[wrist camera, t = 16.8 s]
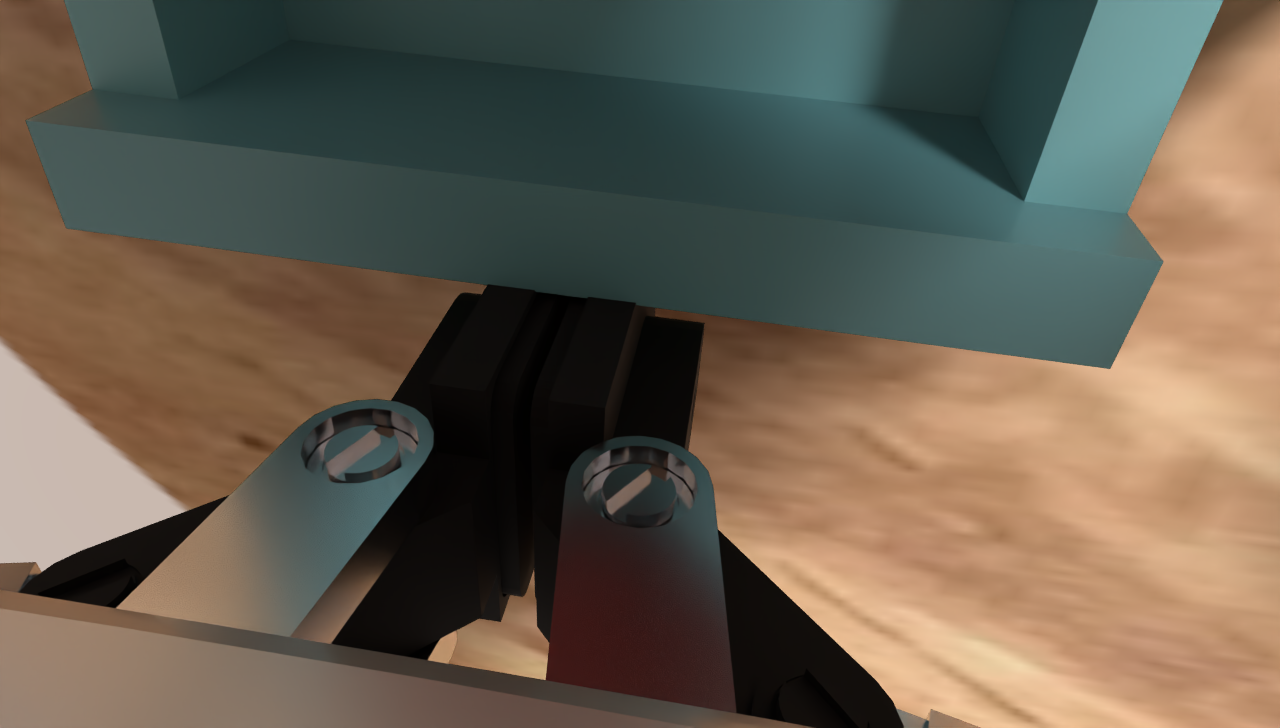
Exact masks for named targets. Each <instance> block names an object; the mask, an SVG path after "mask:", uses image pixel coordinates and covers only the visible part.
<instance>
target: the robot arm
mask: <svg viewBox="0 0 1280 728" xmlns="http://www.w3.org/2000/svg"><path fill="white" fill-rule="evenodd" d="M704 324H705V323H700V322H693V321H685V320H677V319H669V318H661V317H655V308H654V307H647V306H639V305H636V303H634V302H626V301H618V300H610V299H602V298H594V297H588V298H580V297H572V296H565V295H557V294H550V293H542V292H535V290H530V289H522V288H514V287H506V286H498V285H490V284H488V285H487V287H486V288H485V290H484V292H483V294H482V295H481V294H473V293H461V294H460V295H459V296H458V297H457V298H456V299H455V301H454V302H453V304H452V305H451V307H450V309H449V310H448V312H447V313H446V315H445V317H444V318H443V320H442V321H441V323H440V324H439V326H438V328H437V329H436V331H435V332H434V334H433V335H432V337H431V339H430V340H429V342H428V343H427V345H426V346H425V348H424V350H423V351H422V353H421V354H420V356H419V357H418V359H417V361H416V362H415V364H414V365H413V367H412V369H411V370H410V372H409V373H408V375H407V376H406V378H405V380H404V381H403V383H402V384H401V386H400V387H399V389H398V391H397V392H396V394H395V395H394V397H393V398H392V400H391V401H388V400H380V399H372V400H356V401H352V402H348V403H344V404H340V405H336V406H333V407H331V408H329V409H326V410H324V411H322V412H320V413H318V414H316V415H314V416H312V417H311V418H310V419H309V420H307V421H306V422H305V423H303V424H302V425H301V426H299V427H298V428H297V429H296V430H295V431H294V432H293V433H292V434H291V435H290V436H289V437H288V438H287V439H286V440H285V441H284V442H283V443H282V444H281V445H280V446H279V447H278V448H277V449H276V450H275V451H274V452H273V453H272V454H271V455H270V456H269V457H268V458H267V459H266V460H265V461H264V462H263V463H262V464H261V465H260V466H259V467H258V468H257V469H256V470H255V471H254V472H253V473H252V474H251V475H250V476H249V477H248V478H247V479H246V480H245V481H244V482H243V483H242V484H241V485H240V486H239V487H238V488H237V489H236V490H235V491H234V492H233V493H232V494H231V495H229V496H226V497H223V498H221V499H218V500H215V501H213V502H210V503H207V504H205V505H202V506H199V507H197V508H194V509H191V510H189V511H186V512H183V513H181V514H178V515H175V516H173V517H170V518H167V519H165V520H162V521H159V522H157V523H154V524H151V525H149V526H146V527H143V528H141V529H138V530H135V531H133V532H130V533H127V534H125V535H122V536H119V537H117V538H114V539H111V540H109V541H106V542H103V543H101V544H98V545H95V546H93V547H90V548H87V549H85V550H82V551H80V552H78V553H76V554H73V555H71V556H69V557H67V558H65V559H63V560H61V561H58V562H56V563H54V564H53V565H51V566H50V567H49V568H47V569H46V570H44V571H43V572H41V570H40V568H39V567H38V565H37V563H36V562H32V563H31V562H29V563H1V564H0V728H980V727H978V726H975V725H972V724H970V723H967V722H964V721H961V720H959V719H956V718H953V717H951V716H948V715H945V714H943V713H940V712H937V711H935V710H932V709H931V710H930V712H929V714H928V716H927V719H923V718H920V717H918V716H915V715H912V714H910V713H907V712H904V711H902V710H899V709H896V707H895V705H894V703H893V701H892V700H891V698H890V697H889V696H888V695H887V693H886V692H885V691H884V690H883V689H882V687H881V686H880V685H879V684H878V682H877V681H876V680H875V679H874V678H873V677H872V676H871V675H870V674H869V673H868V672H867V671H866V670H865V669H864V668H862V667H861V666H860V665H859V664H858V663H857V662H856V661H855V660H854V659H853V658H852V657H851V656H850V655H849V654H848V653H847V652H846V651H845V650H844V649H843V648H842V647H841V646H839V645H838V644H837V643H836V642H835V641H834V640H833V639H832V638H831V637H830V636H829V635H828V634H827V633H826V632H825V631H824V630H823V629H822V628H821V627H820V626H819V625H817V624H816V623H815V622H814V621H813V620H812V619H811V618H810V617H809V616H808V615H807V614H806V613H805V612H804V611H803V610H802V609H801V608H800V607H799V606H798V605H797V604H795V603H794V602H793V601H792V600H791V599H790V598H789V597H788V596H787V595H786V594H785V593H784V592H783V591H782V590H781V589H780V588H779V587H778V586H777V585H776V584H775V583H774V582H772V581H771V580H770V579H769V578H768V577H767V576H766V575H765V574H764V573H763V572H762V571H761V570H760V569H759V568H758V567H757V566H756V565H755V564H754V563H753V562H752V561H750V560H749V559H748V558H747V557H746V556H745V555H744V554H743V553H742V552H741V551H740V550H739V549H738V548H737V547H736V546H735V545H734V544H733V543H732V542H731V541H730V540H729V539H727V538H726V537H725V536H724V535H723V534H722V533H721V532H720V531H719V530H718V527H717V518H716V508H715V498H714V489H713V485H712V482H711V478H710V475H709V472H708V470H707V469H706V468H705V467H704V466H703V464H702V463H701V462H700V461H699V459H698V458H697V457H696V456H694V455H693V454H691V453H690V452H688V448H689V442H690V435H691V428H692V421H693V414H694V407H695V399H696V392H697V384H698V376H699V368H700V360H701V352H702V343H703V335H704ZM533 570H534V574H535V597H536V600H537V627H538V628H539V629H540V631H541V632H542V633H543V635H544V636H545V638H546V639H547V640H548V642H549V653H548V663H547V673H546V680H540V679H535V678H529V677H523V676H517V675H512V674H506V673H500V672H494V671H488V670H482V669H476V668H470V667H464V666H459V665H453V664H448V662H449V661H450V659H451V657H452V654H453V651H454V649H455V646H456V643H457V630H458V629H460V628H462V627H464V626H466V625H467V624H469V623H471V622H473V621H475V620H477V619H479V618H480V619H486V620H492V621H498V622H501V620H502V617H503V614H504V611H505V608H506V605H507V602H508V599H509V596H510V595H514V596H521V597H523V596H524V595H525V593H526V591H527V589H528V586H529V583H530V580H531V577H532V573H533Z"/></svg>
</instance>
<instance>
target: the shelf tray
mask: <svg viewBox="0 0 1280 728" xmlns="http://www.w3.org/2000/svg"><path fill="white" fill-rule="evenodd" d="M64 2H65V5H66V8H67V11H68V14H69V17H70V21H71V24H72V27H73V30H74V33H75V36H76V39H77V42H78V45H79V48H80V52H81V55H82V58H83V61H84V64H85V67H86V70H87V73H88V76H89V80H90V83H91V86H92V89H93V90H90V91H88V92H86V93H84V94H82V95H80V96H77V97H75V98H73V99H71V100H69V101H66V102H64V103H62V104H60V105H58V106H56V107H53V108H51V109H49V110H47V111H45V112H43V113H40V114H38V115H36V116H34V117H32V118H30V119H27V120H25V121H26V124H27V126H28V129H29V131H30V134H31V137H32V139H33V142H34V145H35V147H36V150H37V153H38V155H39V158H40V161H41V163H42V166H43V168H44V171H45V174H46V176H47V179H48V182H49V184H50V187H51V190H52V192H53V195H54V198H55V200H56V203H57V205H58V208H59V211H60V213H61V216H62V219H63V221H64V224H65V227H66V228H67V229H74V230H82V231H89V232H97V233H104V234H111V235H119V236H126V237H134V238H141V239H149V240H156V241H164V242H171V243H178V244H186V245H193V246H201V247H208V248H216V249H223V250H230V251H238V252H245V253H253V254H260V255H268V256H275V257H282V258H290V259H297V260H305V261H312V262H320V263H327V264H334V265H342V266H349V267H357V268H364V269H372V270H379V271H386V272H394V273H401V274H409V275H416V276H424V277H431V278H438V279H446V280H453V281H461V282H468V283H476V284H483V285H488V284H490V285H498V286H506V287H514V288H522V289H530V290H535V292H542V293H550V294H557V295H565V296H572V297H580V298H588V297H594V298H602V299H610V300H618V301H626V302H634V303H636V305H639V306H647V307H654V308H661V309H669V310H676V311H684V312H691V313H699V314H706V315H713V316H721V317H728V318H736V319H743V320H751V321H758V322H765V323H773V324H780V325H788V326H795V327H803V328H810V329H817V330H825V331H832V332H840V333H847V334H855V335H862V336H869V337H877V338H884V339H892V340H899V341H907V342H914V343H921V344H929V345H936V346H944V347H951V348H959V349H966V350H973V351H981V352H988V353H996V354H1003V355H1011V356H1018V357H1025V358H1033V359H1040V360H1048V361H1055V362H1063V363H1070V364H1077V365H1085V366H1092V367H1100V368H1107V369H1110V368H1111V366H1112V364H1113V362H1114V360H1115V358H1116V356H1117V354H1118V352H1119V350H1120V348H1121V346H1122V344H1123V342H1124V340H1125V338H1126V336H1127V334H1128V332H1129V330H1130V328H1131V326H1132V324H1133V322H1134V320H1135V318H1136V316H1137V314H1138V312H1139V310H1140V308H1141V306H1142V304H1143V302H1144V300H1145V298H1146V296H1147V294H1148V292H1149V290H1150V288H1151V286H1152V284H1153V282H1154V280H1155V278H1156V276H1157V274H1158V272H1159V270H1160V268H1161V266H1162V264H1163V260H1162V259H1161V258H1160V256H1159V255H1158V254H1157V252H1156V251H1155V250H1154V249H1153V247H1152V246H1151V245H1150V243H1149V242H1148V241H1147V239H1146V238H1145V237H1144V235H1143V234H1142V233H1141V231H1140V230H1139V229H1138V227H1137V226H1136V225H1135V224H1134V222H1133V221H1132V220H1131V218H1130V217H1129V216H1128V214H1127V213H1128V211H1129V208H1130V206H1131V204H1132V202H1133V200H1134V197H1135V195H1136V193H1137V191H1138V188H1139V186H1140V184H1141V182H1142V180H1143V177H1144V175H1145V173H1146V171H1147V169H1148V166H1149V164H1150V162H1151V160H1152V157H1153V155H1154V153H1155V151H1156V149H1157V146H1158V144H1159V142H1160V140H1161V137H1162V135H1163V133H1164V131H1165V129H1166V126H1167V124H1168V122H1169V120H1170V118H1171V115H1172V113H1173V111H1174V109H1175V106H1176V104H1177V102H1178V100H1179V98H1180V95H1181V93H1182V91H1183V89H1184V87H1185V84H1186V82H1187V80H1188V78H1189V75H1190V73H1191V71H1192V69H1193V67H1194V64H1195V62H1196V60H1197V58H1198V56H1199V53H1200V51H1201V49H1202V47H1203V44H1204V42H1205V40H1206V38H1207V36H1208V33H1209V31H1210V29H1211V27H1212V24H1213V22H1214V20H1215V18H1216V16H1217V13H1218V11H1219V9H1220V7H1221V5H1222V2H1223V0H64Z"/></svg>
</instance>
